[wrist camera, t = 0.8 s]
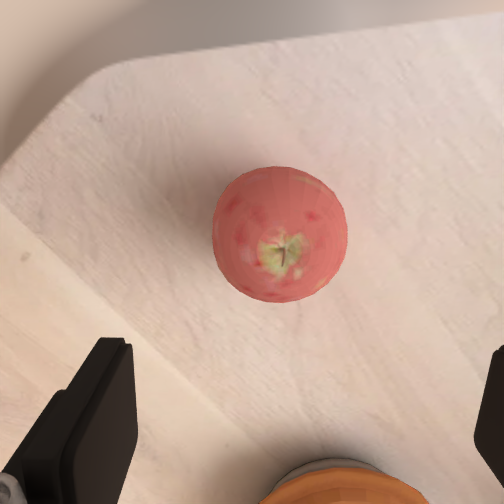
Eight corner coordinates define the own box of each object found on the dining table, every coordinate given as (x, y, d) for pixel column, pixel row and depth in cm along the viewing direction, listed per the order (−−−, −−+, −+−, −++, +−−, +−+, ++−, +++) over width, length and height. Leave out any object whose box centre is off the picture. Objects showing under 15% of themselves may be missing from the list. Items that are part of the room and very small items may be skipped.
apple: (324, 273, 28) (352, 332, 21) (215, 267, 28) (204, 325, 21) (338, 162, 26) (375, 183, 19) (219, 154, 26) (208, 173, 18)
